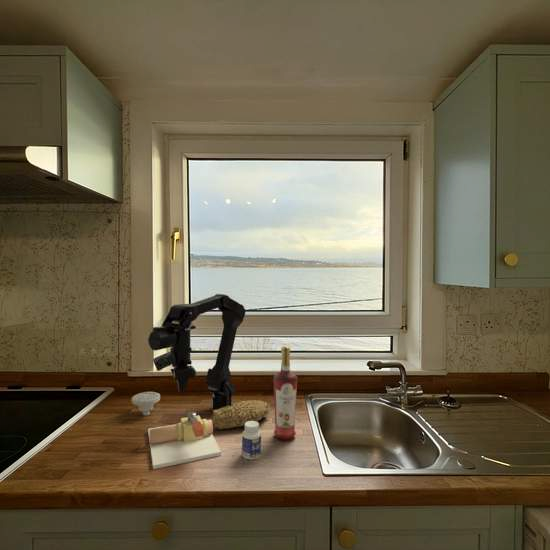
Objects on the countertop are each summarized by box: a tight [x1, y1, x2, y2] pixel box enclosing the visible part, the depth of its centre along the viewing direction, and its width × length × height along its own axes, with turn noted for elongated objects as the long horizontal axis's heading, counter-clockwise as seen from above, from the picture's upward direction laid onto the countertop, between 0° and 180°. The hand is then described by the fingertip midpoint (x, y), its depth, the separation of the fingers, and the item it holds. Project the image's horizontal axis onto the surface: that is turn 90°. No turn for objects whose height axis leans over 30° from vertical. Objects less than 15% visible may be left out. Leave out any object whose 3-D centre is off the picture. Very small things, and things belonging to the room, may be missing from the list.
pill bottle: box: [241, 421, 262, 461], centre depth 100 cm, size 5×5×9 cm
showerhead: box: [131, 391, 161, 416], centre depth 125 cm, size 9×7×10 cm
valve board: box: [147, 414, 222, 470], centre depth 106 cm, size 18×22×6 cm
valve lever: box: [186, 411, 204, 437], centre depth 103 cm, size 13×3×2 cm, turn 24°
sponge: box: [211, 399, 271, 430], centre depth 120 cm, size 13×8×20 cm
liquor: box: [273, 345, 298, 441], centre depth 110 cm, size 7×7×28 cm
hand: (181, 392), depth 114 cm, fingers closed
